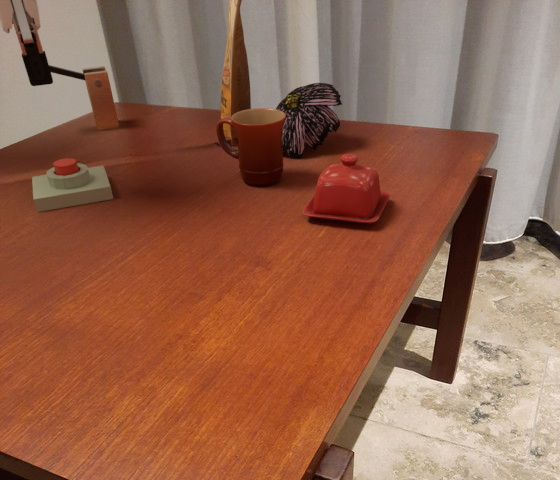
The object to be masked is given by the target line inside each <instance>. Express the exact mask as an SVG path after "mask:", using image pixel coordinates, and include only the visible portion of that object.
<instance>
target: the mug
mask: <svg viewBox="0 0 560 480" xmlns="http://www.w3.org/2000/svg"><path fill="white" fill-rule="evenodd" d="M285 119H286V114H285V113H284V112H282V111H280V110H277V109H276V108H269V107H256V108H251V109H247V110H243V111H239V112H237V113H235V114H233V115H232V116H231V117H224V118H222V119H221V118H220V119H219V120H218V121H217V123H216V126H215V127H216V130H215V131H216V136H217V140H218V143H219V145H220V147H221V148H222V150H223V151H224V152H225V153H226V154H227V155H228V156H230V157H232V158H233V159H236V160H238V169H239V173H240V176H241V180H243V181H244V182H246V184H248V185H251V186H256V187H257V186H258V187H264V186H265V187H266V186H271V185H273V184H275V183H277V182H278V181H280V180H281V179H282V177H283V172H284V152H283V148H282V132H283V127H284V122H285ZM224 123H226V124H229V125H231V126H232V127H233V128H234V129H235V132H236V135H237V137H236V139H237V140H238V144H237V148H233V146H230V144H229V143H227V141H226V140H227V139H226V136H225V135H224V130H223V124H224Z"/></svg>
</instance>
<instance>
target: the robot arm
mask: <svg viewBox="0 0 560 480" xmlns="http://www.w3.org/2000/svg"><path fill="white" fill-rule="evenodd" d="M0 24H1V27H2V31H3V32H4V33H6V34H10V33H11V32H10V30H12V29H13V27H14V31H15V35H16V37H17V40H18V44H19V47H20V50H21V58H22V61H23V64H24V65H23V66H24V68H25V71H26V74H27V77H28V81H29V84H30V86H32V87H38V86H46V85H53V83H54V79H53V75H52V72H51V71H50V68H49V65H50V64H49V61H48V58H47V54H46V51H45V50H43V46H42V42H41V39H40V35H39V30H40V28H41V20H40V13H39V6H38V1H37V0H0Z"/></svg>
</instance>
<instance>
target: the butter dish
mask: <svg viewBox="0 0 560 480" xmlns="http://www.w3.org/2000/svg"><path fill="white" fill-rule="evenodd" d="M340 161H341V162H339V163H338V162H337V163H332V164H330V165H328V166H327V167H326V168H324V169H323V170H322V172H321V173H320V175H319V177H318V178H317V182H316V187H315V192H314V194H313V195H312V196H311V198H310V199H309V201H308V202H307V203H306V204H305V206H304V208H303V209H302V215H303V216H304V217H308V218H318V219H323V220H324V219H325V220H332V221H340V222H341V221H342V222H350V223H359V224H373V223H376V222H377V221H378V220H379V219H380V217H381V215H382V213H383V211H384V210H385V208H386V206H387V203H388V202H389V200H390V196H391V195H390V192H389V191H385V190H381V184H380V176H379V172H378V170H376V169H375V168H374V167H371V166H369V165H367V164H362V163H357V162H358V161H359V157H358V156H357V155H356V154H354V153H344V154H343V155H341V157H340Z"/></svg>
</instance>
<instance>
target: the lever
mask: <svg viewBox="0 0 560 480" xmlns="http://www.w3.org/2000/svg"><path fill="white" fill-rule="evenodd" d="M49 68H50V71H51V74H52V73H53V74H56V75H60V76H65V77H69V78H73V79H76V80H81V81H84V82H85V81H86V80H85V76H84V74H83V72H78V71H75V70H70V69H67V68H63V67H58V66H54V65H50V64H49ZM90 72H93V71H90Z"/></svg>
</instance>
